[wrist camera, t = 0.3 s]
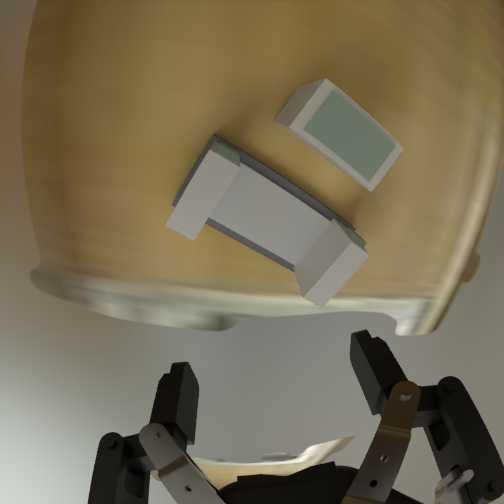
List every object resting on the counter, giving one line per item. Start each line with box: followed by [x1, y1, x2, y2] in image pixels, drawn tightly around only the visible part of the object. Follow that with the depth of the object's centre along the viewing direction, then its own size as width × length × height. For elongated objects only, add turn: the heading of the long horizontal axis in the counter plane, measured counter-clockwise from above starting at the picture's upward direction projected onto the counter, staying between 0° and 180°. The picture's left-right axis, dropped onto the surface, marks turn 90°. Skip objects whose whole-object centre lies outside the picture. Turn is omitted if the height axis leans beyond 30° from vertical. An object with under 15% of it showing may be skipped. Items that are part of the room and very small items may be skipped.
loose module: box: [274, 78, 404, 192], centre depth 23 cm, size 5×9×9 cm, turn 56°
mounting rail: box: [166, 134, 370, 307], centre depth 29 cm, size 9×20×7 cm, turn 57°
